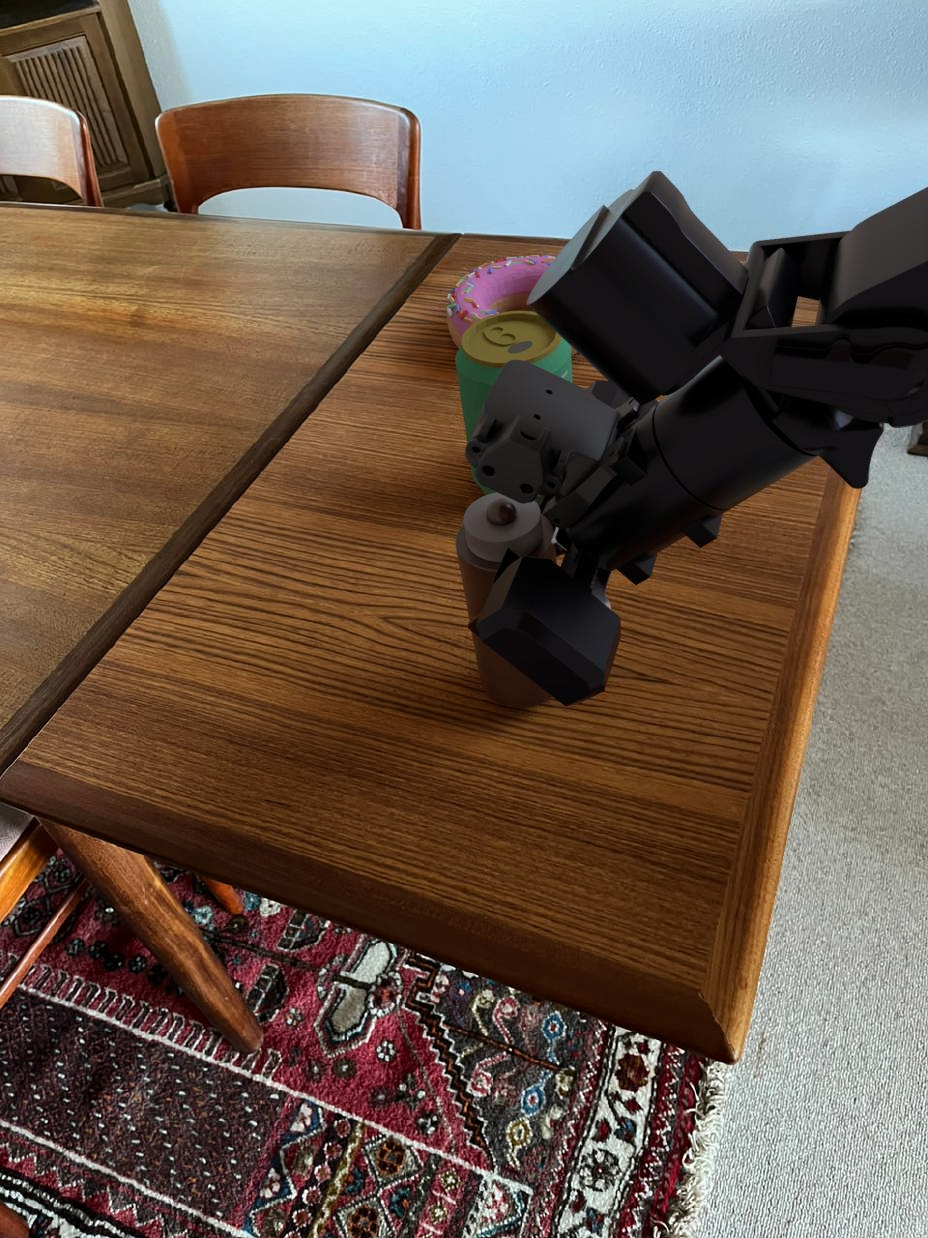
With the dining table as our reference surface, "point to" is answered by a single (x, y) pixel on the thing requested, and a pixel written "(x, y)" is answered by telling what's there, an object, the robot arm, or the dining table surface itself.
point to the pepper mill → (479, 556)
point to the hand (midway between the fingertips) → (489, 594)
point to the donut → (494, 291)
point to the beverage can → (505, 358)
